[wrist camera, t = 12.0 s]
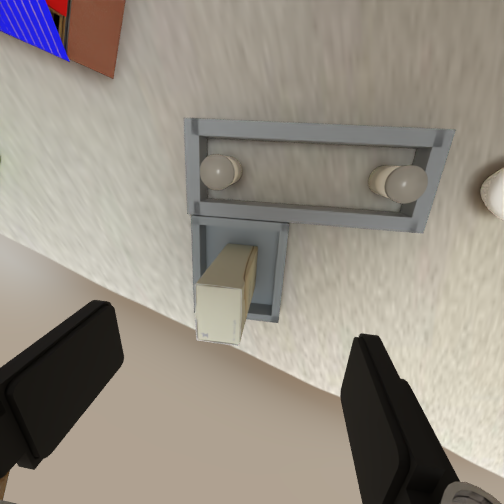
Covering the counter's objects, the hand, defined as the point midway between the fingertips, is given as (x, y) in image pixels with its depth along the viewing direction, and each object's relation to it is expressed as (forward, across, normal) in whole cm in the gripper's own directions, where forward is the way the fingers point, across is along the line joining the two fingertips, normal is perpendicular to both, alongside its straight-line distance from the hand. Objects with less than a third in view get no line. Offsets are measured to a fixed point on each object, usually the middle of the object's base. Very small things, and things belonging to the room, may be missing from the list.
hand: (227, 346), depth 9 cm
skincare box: (+23, +4, +7) cm, 24 cm away
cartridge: (+24, -13, -5) cm, 27 cm away
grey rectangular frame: (+24, -4, -5) cm, 24 cm away
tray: (+23, +4, +7) cm, 24 cm away
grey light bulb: (+23, +5, -5) cm, 25 cm away
